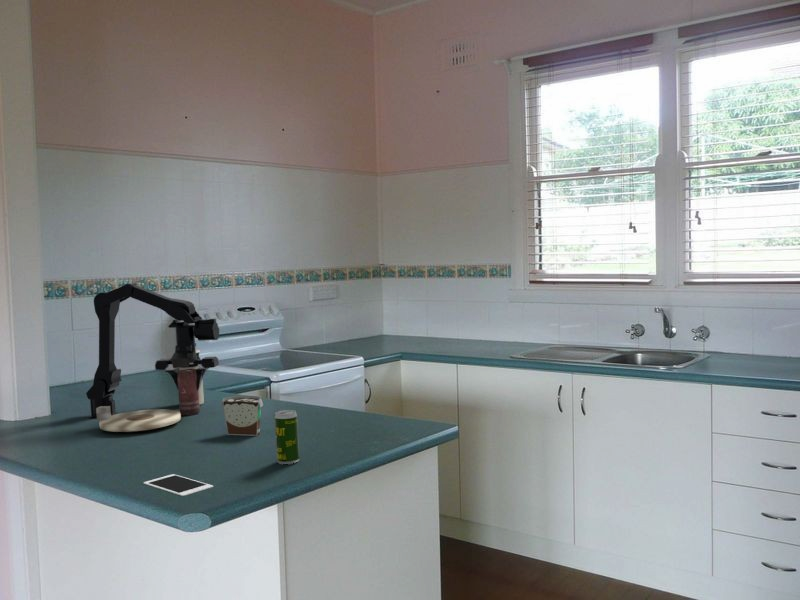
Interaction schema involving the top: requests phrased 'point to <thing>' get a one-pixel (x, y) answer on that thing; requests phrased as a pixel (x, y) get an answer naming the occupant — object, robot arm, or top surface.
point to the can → (188, 392)
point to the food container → (242, 415)
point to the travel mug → (201, 396)
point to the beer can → (286, 437)
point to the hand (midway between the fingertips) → (188, 390)
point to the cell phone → (178, 484)
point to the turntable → (135, 419)
